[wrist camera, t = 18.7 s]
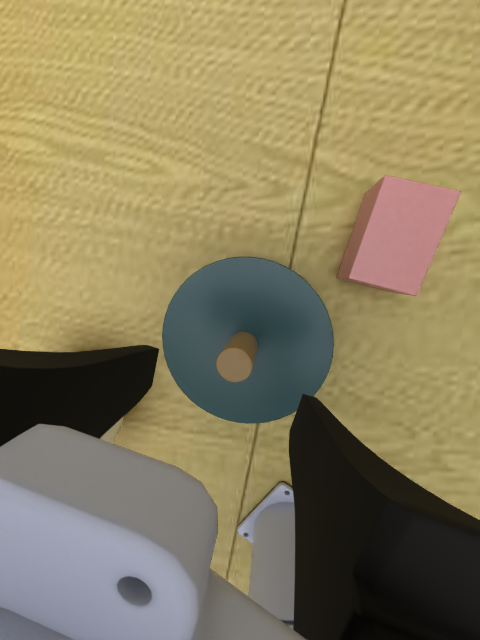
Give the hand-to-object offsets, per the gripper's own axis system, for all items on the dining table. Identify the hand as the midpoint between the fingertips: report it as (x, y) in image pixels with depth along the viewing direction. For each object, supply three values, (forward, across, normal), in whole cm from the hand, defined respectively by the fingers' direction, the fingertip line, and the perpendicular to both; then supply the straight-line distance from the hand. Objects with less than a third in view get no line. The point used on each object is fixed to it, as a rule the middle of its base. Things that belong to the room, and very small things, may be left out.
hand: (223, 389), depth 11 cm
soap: (+10, -8, -10) cm, 16 cm away
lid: (+7, 0, 0) cm, 7 cm away
